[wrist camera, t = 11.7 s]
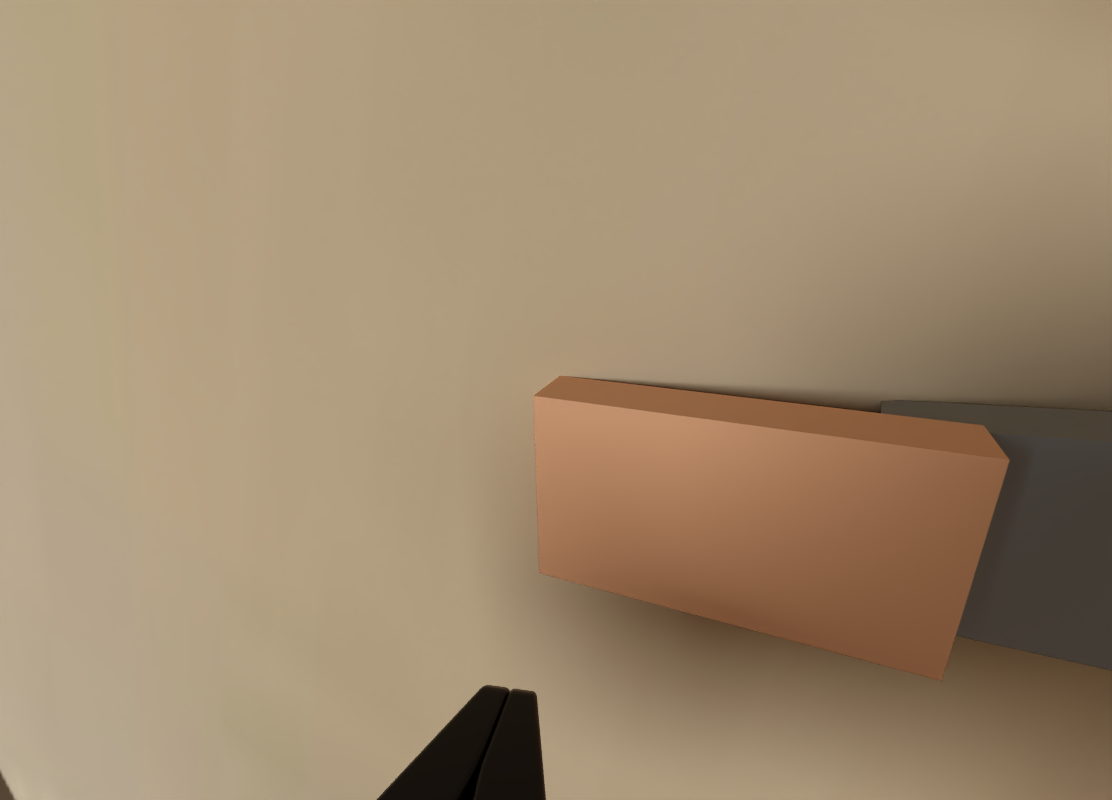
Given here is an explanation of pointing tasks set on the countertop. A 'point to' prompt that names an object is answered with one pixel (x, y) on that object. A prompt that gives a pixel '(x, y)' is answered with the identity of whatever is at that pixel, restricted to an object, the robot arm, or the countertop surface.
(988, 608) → the domino
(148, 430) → the countertop surface
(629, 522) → the domino
